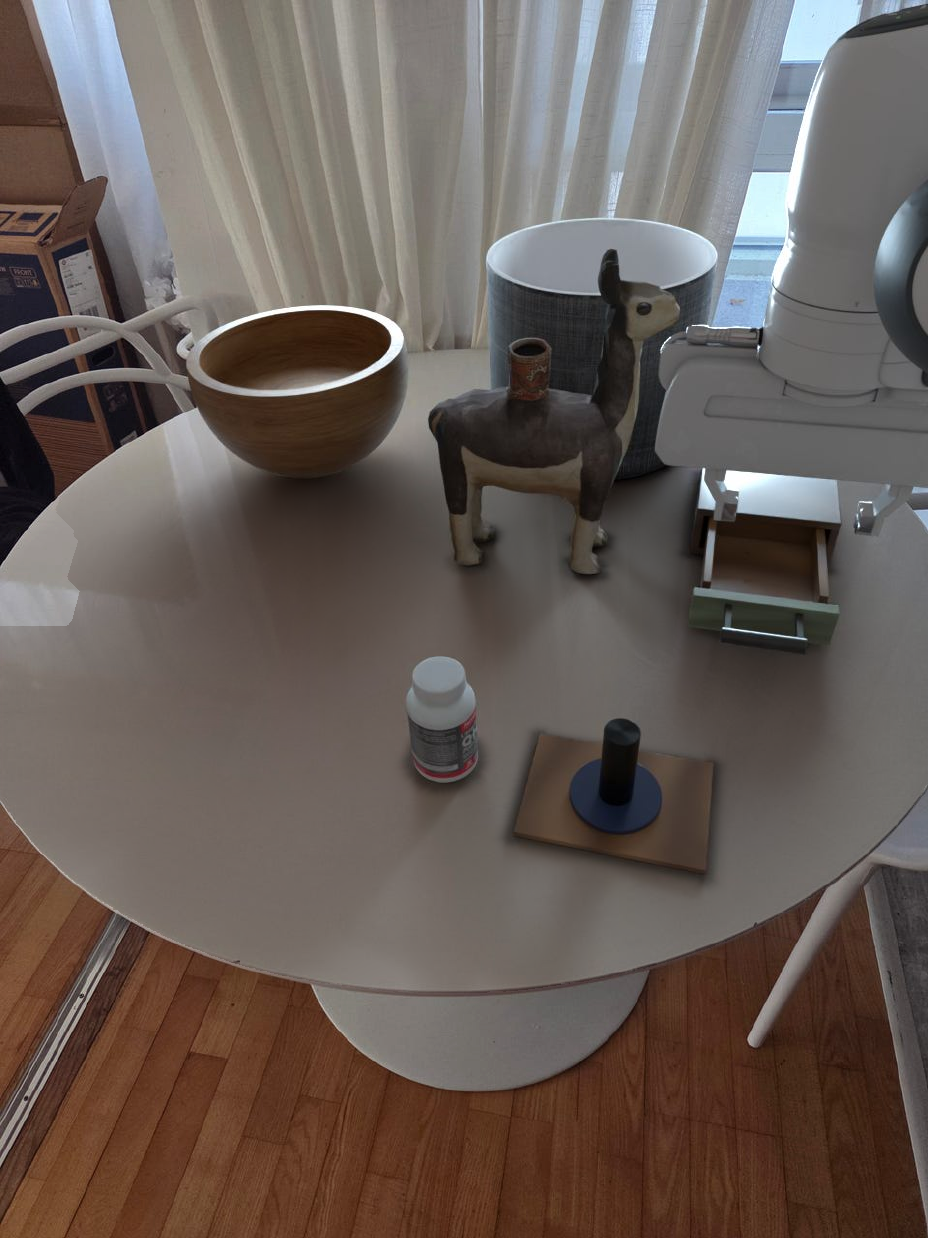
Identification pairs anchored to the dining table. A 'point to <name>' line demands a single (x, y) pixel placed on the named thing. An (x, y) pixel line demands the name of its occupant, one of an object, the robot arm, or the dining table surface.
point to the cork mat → (663, 842)
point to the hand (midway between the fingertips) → (793, 523)
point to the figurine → (551, 425)
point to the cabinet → (774, 504)
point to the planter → (594, 304)
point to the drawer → (765, 586)
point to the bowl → (301, 387)
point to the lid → (616, 784)
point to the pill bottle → (442, 720)
